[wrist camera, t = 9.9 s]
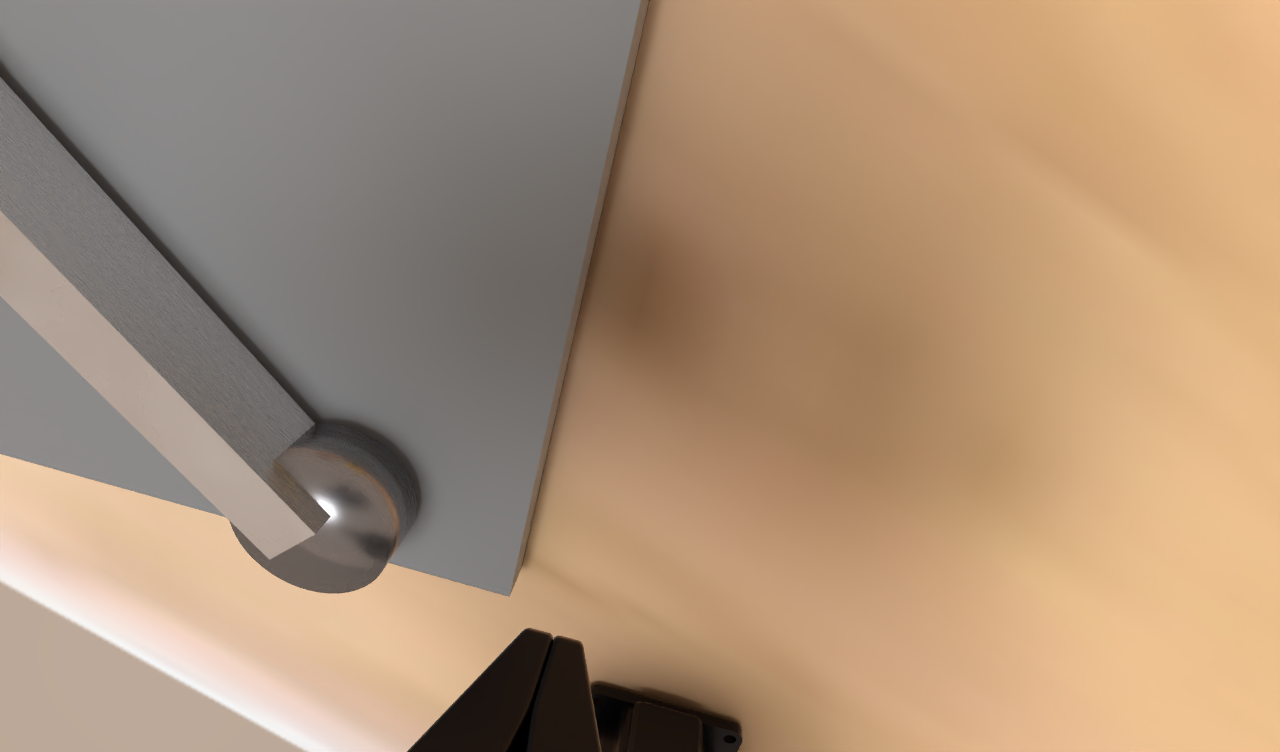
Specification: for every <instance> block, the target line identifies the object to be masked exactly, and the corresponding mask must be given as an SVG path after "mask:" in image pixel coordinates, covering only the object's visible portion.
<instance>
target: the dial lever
mask: <svg viewBox="0 0 1280 752" xmlns="http://www.w3.org/2000/svg"><path fill="white" fill-rule="evenodd" d="M0 296H1V297H2V298H3V299H4V300H5V301H6V302H7V303H8V304H9V305H10V306H11V307H12V308H13V309H14V310H15V311H16V312H17V313H18V314H19V315H20V316H21V317H22V318H23V319H24V320H25V321H26V322H27V323H28V324H29V325H30V326H31V327H32V328H33V329H34V330H35V331H36V332H37V333H38V334H40V335H41V336H42V337H43V338H44V339H45V340H46V341H47V342H48V343H49V344H50V345H51V346H52V347H53V348H54V349H55V350H56V351H57V352H58V353H59V354H60V355H61V356H62V357H63V358H64V359H65V360H66V361H67V362H68V363H69V364H70V365H71V366H72V367H73V368H74V369H75V370H76V371H77V372H78V373H79V374H80V375H81V376H82V377H83V378H84V379H85V380H86V381H87V382H89V383H90V384H91V385H92V386H93V387H94V388H95V389H96V390H97V391H98V392H99V393H100V394H101V395H102V396H103V397H104V398H105V399H106V400H107V401H108V402H109V403H110V404H111V405H112V406H113V407H114V408H115V409H116V410H117V411H118V412H119V413H120V414H121V415H122V416H123V417H124V418H125V419H126V420H127V421H128V422H129V423H130V424H131V425H132V426H133V427H134V428H135V429H136V430H138V431H139V432H140V433H141V434H142V435H143V436H144V437H145V438H146V439H147V440H148V441H149V442H150V443H151V444H152V445H153V446H154V447H155V448H156V449H157V450H158V451H159V452H160V453H161V454H162V455H163V456H164V457H165V458H166V459H167V460H168V461H169V462H170V463H171V464H172V465H173V466H174V467H175V468H176V469H177V470H178V471H179V472H180V473H181V474H182V475H183V476H184V477H186V478H187V479H188V480H189V481H190V482H191V483H192V484H193V485H194V486H195V487H196V488H197V489H198V490H199V491H200V492H201V493H202V494H203V495H204V496H205V497H206V498H207V499H208V500H209V501H210V502H211V503H212V504H213V505H214V506H215V507H216V508H217V509H218V510H219V511H220V512H221V513H222V514H223V515H224V516H225V517H226V518H227V519H228V520H229V521H230V523H231V526H232V529H233V531H234V533H235V535H236V537H237V538H238V540H239V542H240V543H241V545H242V546H243V547H244V549H245V550H246V551H247V552H248V553H249V555H250V556H251V557H252V558H253V559H254V560H255V561H256V562H258V563H259V564H260V565H261V566H262V567H263V568H265V569H266V570H267V571H269V572H270V573H272V574H273V575H275V576H277V577H278V578H280V579H282V580H284V581H286V582H288V583H290V584H292V585H295V586H297V587H300V588H303V589H307V590H310V591H315V592H321V593H345V592H351V591H355V590H358V589H360V588H363V587H365V586H366V585H368V584H370V583H371V582H372V581H374V580H375V579H376V578H377V577H378V576H379V574H380V573H381V572H382V571H383V569H384V568H385V566H386V565H387V563H388V562H389V560H390V559H391V557H392V556H393V554H394V553H395V551H396V550H397V548H398V547H399V545H400V544H401V543H402V541H403V540H404V538H405V537H406V535H407V534H408V532H409V531H410V529H411V527H412V525H413V524H414V521H415V518H416V513H417V497H416V491H415V488H414V485H413V482H412V480H411V478H410V476H409V474H408V473H407V471H406V469H405V468H404V466H403V465H402V464H401V462H400V461H399V460H398V459H397V458H396V457H395V456H394V455H393V454H392V453H391V452H390V451H389V450H388V449H387V448H386V447H384V446H383V445H382V444H381V443H379V442H378V441H376V440H375V439H373V438H371V437H370V436H368V435H366V434H364V433H362V432H359V431H357V430H355V429H352V428H348V427H345V426H341V425H335V424H325V423H321V424H315V423H314V422H313V421H312V420H311V419H310V418H309V416H308V415H307V414H306V413H305V412H304V411H303V410H302V409H301V408H300V407H299V405H298V404H297V403H296V402H295V401H294V400H293V399H292V398H291V397H290V396H289V394H288V393H287V392H286V391H285V390H284V389H283V388H282V387H281V386H280V385H279V383H278V382H277V381H276V380H275V379H274V378H273V377H272V376H271V375H270V374H269V372H268V371H267V370H266V369H265V368H264V367H263V366H262V365H261V364H260V363H259V361H258V360H257V359H256V358H255V357H254V356H253V355H252V354H251V353H250V352H249V350H248V349H247V348H246V347H245V346H244V345H243V344H242V343H241V342H240V341H239V339H238V338H237V337H236V336H235V335H234V334H233V333H232V332H231V331H230V330H229V328H228V327H227V326H226V325H225V324H224V323H223V322H222V321H221V320H220V319H219V317H218V316H217V315H216V314H215V313H214V312H213V311H212V310H211V309H210V308H209V306H208V305H207V304H206V303H205V302H204V301H203V300H202V299H201V298H200V297H199V295H198V294H197V293H196V292H195V291H194V290H193V289H192V288H191V287H190V286H189V284H188V283H187V282H186V281H185V280H184V279H183V278H182V277H181V276H180V275H179V273H178V272H177V271H176V270H175V269H174V268H173V267H172V266H171V265H170V263H169V262H168V261H167V260H166V259H165V258H164V257H163V256H162V255H161V254H160V252H159V251H158V250H157V249H156V248H155V247H154V246H153V245H152V244H151V243H150V241H149V240H148V239H147V238H146V237H145V236H144V235H143V234H142V233H141V232H140V230H139V229H138V228H137V227H136V226H135V225H134V224H133V223H132V222H131V221H130V219H129V218H128V217H127V216H126V215H125V214H124V213H123V212H122V211H121V210H120V208H119V207H118V206H117V205H116V204H115V203H114V202H113V201H112V200H111V199H110V197H109V196H108V195H107V194H106V193H105V192H104V191H103V190H102V189H101V188H100V186H99V185H98V184H97V183H96V182H95V181H94V180H93V179H92V178H91V177H90V175H89V174H88V173H87V172H86V171H85V170H84V169H83V168H82V167H81V166H80V164H79V163H78V162H77V161H76V160H75V159H74V158H73V157H72V156H71V155H70V153H69V152H68V151H67V150H66V149H65V148H64V147H63V146H62V145H61V144H60V142H59V141H58V140H57V139H56V138H55V137H54V136H53V135H52V134H51V133H50V131H49V130H48V129H47V128H46V127H45V126H44V125H43V124H42V123H41V122H40V120H39V119H38V118H37V117H36V116H35V115H34V114H33V113H32V112H31V111H30V109H29V108H28V107H27V106H26V105H25V104H24V103H23V102H22V101H21V99H20V98H19V97H18V96H17V95H16V94H15V93H14V92H13V91H12V90H11V88H10V87H9V86H8V85H7V84H6V83H5V82H4V81H3V80H2V79H1V77H0Z"/></svg>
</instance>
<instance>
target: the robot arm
mask: <svg viewBox="0 0 1280 752" xmlns="http://www.w3.org/2000/svg"><path fill="white" fill-rule="evenodd" d="M741 743H742V729H741V727H740V726H739V725H738V724H736V723H734V722H730V721H726V720H723V719H719V718H716V717H712V716H709V715H705V714H701V713H698V712H694V711H691V710H687V709H684V708H680V707H676V706H673V705H669V704H666V703H662V702H659V701H655V700H651V699H648V698H644V697H641V696H637V695H634V694H630V693H626V692H623V691H619V690H616V689H612V688H609V687H605V686H601V685H594V686H591V687H590V682H589V676H588V670H587V665H586V659H585V653H584V647H583V645H582V643H581V642H580V641H578V640H574V639H571V638H567V637H563V636H556V637H555V638H554V639H553V636H552V635H551V634H550V633H547V632H544V631H540V630H536V629H532V628H527V629H525V630H524V631H522V632H521V633H520V634H519V635H518V636H517V638H516V639H515V640H514V641H513V642H512V643H511V644H510V645H509V646H508V647H507V648H506V649H505V650H504V651H503V652H502V653H501V654H500V655H499V656H498V657H497V658H496V659H495V660H494V661H493V663H492V664H491V665H490V666H489V667H488V668H487V669H486V670H485V671H484V672H483V673H482V674H481V675H480V676H479V677H478V678H477V679H476V680H475V681H474V682H473V683H472V684H471V685H470V686H469V688H468V689H467V690H466V691H465V692H464V693H463V694H462V695H461V696H460V697H459V698H458V699H457V700H456V701H455V702H454V703H453V704H452V705H451V706H450V707H449V708H448V709H447V710H446V712H445V713H444V714H443V715H442V716H441V717H440V718H439V719H438V720H437V721H436V722H435V723H434V724H433V725H432V726H431V727H430V728H429V729H428V730H427V731H426V732H425V733H424V734H423V735H422V737H421V738H420V739H419V740H418V741H417V742H416V743H415V744H414V745H413V746H412V747H411V748H410V749H409V750H408V751H407V752H737V751H738V749H739V747H740V745H741Z"/></svg>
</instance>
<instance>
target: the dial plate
mask: <svg viewBox="0 0 1280 752" xmlns="http://www.w3.org/2000/svg"><path fill="white" fill-rule="evenodd" d="M648 4H649V0H0V77H1V79H2V80H3V81H4V82H5V83H6V84H7V85H8V86H9V87H10V88H11V90H12V91H13V92H14V93H15V94H16V95H17V96H18V97H19V98H20V99H21V101H22V102H23V103H24V104H25V105H26V106H27V107H28V108H29V109H30V111H31V112H32V113H33V114H34V115H35V116H36V117H37V118H38V119H39V120H40V122H41V123H42V124H43V125H44V126H45V127H46V128H47V129H48V130H49V131H50V133H51V134H52V135H53V136H54V137H55V138H56V139H57V140H58V141H59V142H60V144H61V145H62V146H63V147H64V148H65V149H66V150H67V151H68V152H69V153H70V155H71V156H72V157H73V158H74V159H75V160H76V161H77V162H78V163H79V164H80V166H81V167H82V168H83V169H84V170H85V171H86V172H87V173H88V174H89V175H90V177H91V178H92V179H93V180H94V181H95V182H96V183H97V184H98V185H99V186H100V188H101V189H102V190H103V191H104V192H105V193H106V194H107V195H108V196H109V197H110V199H111V200H112V201H113V202H114V203H115V204H116V205H117V206H118V207H119V208H120V210H121V211H122V212H123V213H124V214H125V215H126V216H127V217H128V218H129V219H130V221H131V222H132V223H133V224H134V225H135V226H136V227H137V228H138V229H139V230H140V232H141V233H142V234H143V235H144V236H145V237H146V238H147V239H148V240H149V241H150V243H151V244H152V245H153V246H154V247H155V248H156V249H157V250H158V251H159V252H160V254H161V255H162V256H163V257H164V258H165V259H166V260H167V261H168V262H169V263H170V265H171V266H172V267H173V268H174V269H175V270H176V271H177V272H178V273H179V275H180V276H181V277H182V278H183V279H184V280H185V281H186V282H187V283H188V284H189V286H190V287H191V288H192V289H193V290H194V291H195V292H196V293H197V294H198V295H199V297H200V298H201V299H202V300H203V301H204V302H205V303H206V304H207V305H208V306H209V308H210V309H211V310H212V311H213V312H214V313H215V314H216V315H217V316H218V317H219V319H220V320H221V321H222V322H223V323H224V324H225V325H226V326H227V327H228V328H229V330H230V331H231V332H232V333H233V334H234V335H235V336H236V337H237V338H238V339H239V341H240V342H241V343H242V344H243V345H244V346H245V347H246V348H247V349H248V350H249V352H250V353H251V354H252V355H253V356H254V357H255V358H256V359H257V360H258V361H259V363H260V364H261V365H262V366H263V367H264V368H265V369H266V370H267V371H268V372H269V374H270V375H271V376H272V377H273V378H274V379H275V380H276V381H277V382H278V383H279V385H280V386H281V387H282V388H283V389H284V390H285V391H286V392H287V393H288V394H289V396H290V397H291V398H292V399H293V400H294V401H295V402H296V403H297V404H298V405H299V407H300V408H301V409H302V410H303V411H304V412H305V413H306V414H307V415H308V416H309V418H310V419H311V420H312V421H313V422H314V423H315V424H321V423H325V424H335V425H341V426H345V427H348V428H352V429H355V430H357V431H359V432H362V433H364V434H366V435H368V436H370V437H371V438H373V439H375V440H376V441H378V442H379V443H381V444H382V445H383V446H384V447H386V448H387V449H388V450H389V451H390V452H391V453H392V454H393V455H394V456H395V457H396V458H397V459H398V460H399V461H400V462H401V464H402V465H403V466H404V468H405V469H406V471H407V473H408V474H409V476H410V478H411V480H412V482H413V485H414V488H415V491H416V497H417V513H416V518H415V521H414V524H413V525H412V527H411V529H410V531H409V532H408V534H407V535H406V537H405V538H404V540H403V541H402V543H401V544H400V545H399V547H398V548H397V550H396V551H395V553H394V554H393V556H392V557H391V559H390V560H389V562H388V563H391V564H395V565H398V566H402V567H405V568H409V569H413V570H416V571H420V572H423V573H427V574H430V575H434V576H438V577H441V578H445V579H448V580H452V581H455V582H459V583H463V584H466V585H470V586H473V587H477V588H480V589H484V590H487V591H491V592H495V593H498V594H502V595H505V596H509V597H510V594H511V592H512V589H513V587H514V584H515V582H516V579H517V577H518V574H519V572H520V569H521V567H522V562H523V558H524V553H525V549H526V545H527V540H528V536H529V531H530V527H531V522H532V518H533V514H534V509H535V505H536V500H537V496H538V491H539V487H540V483H541V478H542V474H543V469H544V465H545V460H546V456H547V452H548V447H549V443H550V438H551V434H552V429H553V425H554V421H555V416H556V412H557V407H558V403H559V398H560V394H561V389H562V385H563V381H564V376H565V372H566V367H567V363H568V358H569V354H570V350H571V345H572V341H573V336H574V332H575V327H576V323H577V319H578V314H579V310H580V305H581V301H582V296H583V292H584V288H585V283H586V279H587V274H588V270H589V265H590V261H591V256H592V252H593V248H594V243H595V239H596V234H597V230H598V225H599V221H600V217H601V212H602V208H603V203H604V199H605V194H606V190H607V186H608V181H609V177H610V172H611V168H612V163H613V159H614V155H615V150H616V146H617V141H618V137H619V132H620V128H621V124H622V119H623V115H624V110H625V106H626V101H627V97H628V92H629V88H630V84H631V79H632V75H633V70H634V66H635V61H636V57H637V53H638V48H639V44H640V39H641V35H642V30H643V26H644V22H645V17H646V13H647V8H648ZM0 454H3V455H6V456H10V457H13V458H17V459H21V460H24V461H28V462H31V463H35V464H38V465H42V466H46V467H49V468H53V469H56V470H60V471H63V472H67V473H71V474H74V475H78V476H81V477H85V478H88V479H92V480H95V481H99V482H103V483H106V484H110V485H113V486H117V487H120V488H124V489H128V490H131V491H135V492H138V493H142V494H145V495H149V496H152V497H156V498H160V499H163V500H167V501H170V502H174V503H177V504H181V505H185V506H188V507H192V508H195V509H199V510H202V511H206V512H209V513H213V514H217V515H220V516H224V515H223V514H222V513H221V512H220V511H219V510H218V509H217V508H216V507H215V506H214V505H213V504H212V503H211V502H210V501H209V500H208V499H207V498H206V497H205V496H204V495H203V494H202V493H201V492H200V491H199V490H198V489H197V488H196V487H195V486H194V485H193V484H192V483H191V482H190V481H189V480H188V479H187V478H186V477H184V476H183V475H182V474H181V473H180V472H179V471H178V470H177V469H176V468H175V467H174V466H173V465H172V464H171V463H170V462H169V461H168V460H167V459H166V458H165V457H164V456H163V455H162V454H161V453H160V452H159V451H158V450H157V449H156V448H155V447H154V446H153V445H152V444H151V443H150V442H149V441H148V440H147V439H146V438H145V437H144V436H143V435H142V434H141V433H140V432H139V431H138V430H136V429H135V428H134V427H133V426H132V425H131V424H130V423H129V422H128V421H127V420H126V419H125V418H124V417H123V416H122V415H121V414H120V413H119V412H118V411H117V410H116V409H115V408H114V407H113V406H112V405H111V404H110V403H109V402H108V401H107V400H106V399H105V398H104V397H103V396H102V395H101V394H100V393H99V392H98V391H97V390H96V389H95V388H94V387H93V386H92V385H91V384H90V383H89V382H87V381H86V380H85V379H84V378H83V377H82V376H81V375H80V374H79V373H78V372H77V371H76V370H75V369H74V368H73V367H72V366H71V365H70V364H69V363H68V362H67V361H66V360H65V359H64V358H63V357H62V356H61V355H60V354H59V353H58V352H57V351H56V350H55V349H54V348H53V347H52V346H51V345H50V344H49V343H48V342H47V341H46V340H45V339H44V338H43V337H42V336H41V335H40V334H38V333H37V332H36V331H35V330H34V329H33V328H32V327H31V326H30V325H29V324H28V323H27V322H26V321H25V320H24V319H23V318H22V317H21V316H20V315H19V314H18V313H17V312H16V311H15V310H14V309H13V308H12V307H11V306H10V305H9V304H8V303H7V302H6V301H5V300H4V299H3V298H2V297H1V296H0ZM224 517H225V516H224Z"/></svg>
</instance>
